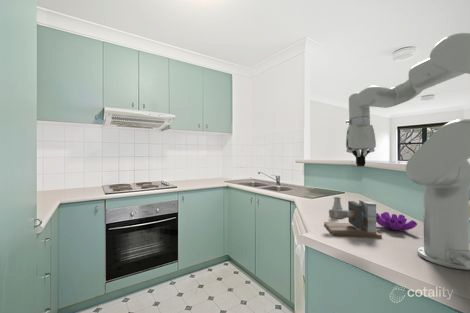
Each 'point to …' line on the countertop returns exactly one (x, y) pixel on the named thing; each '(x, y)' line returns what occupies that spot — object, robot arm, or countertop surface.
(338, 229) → the pipe stand
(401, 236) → the countertop surface
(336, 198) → the flask
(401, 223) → the purple lumpy piece
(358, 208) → the dark grey square panel
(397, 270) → the countertop surface
